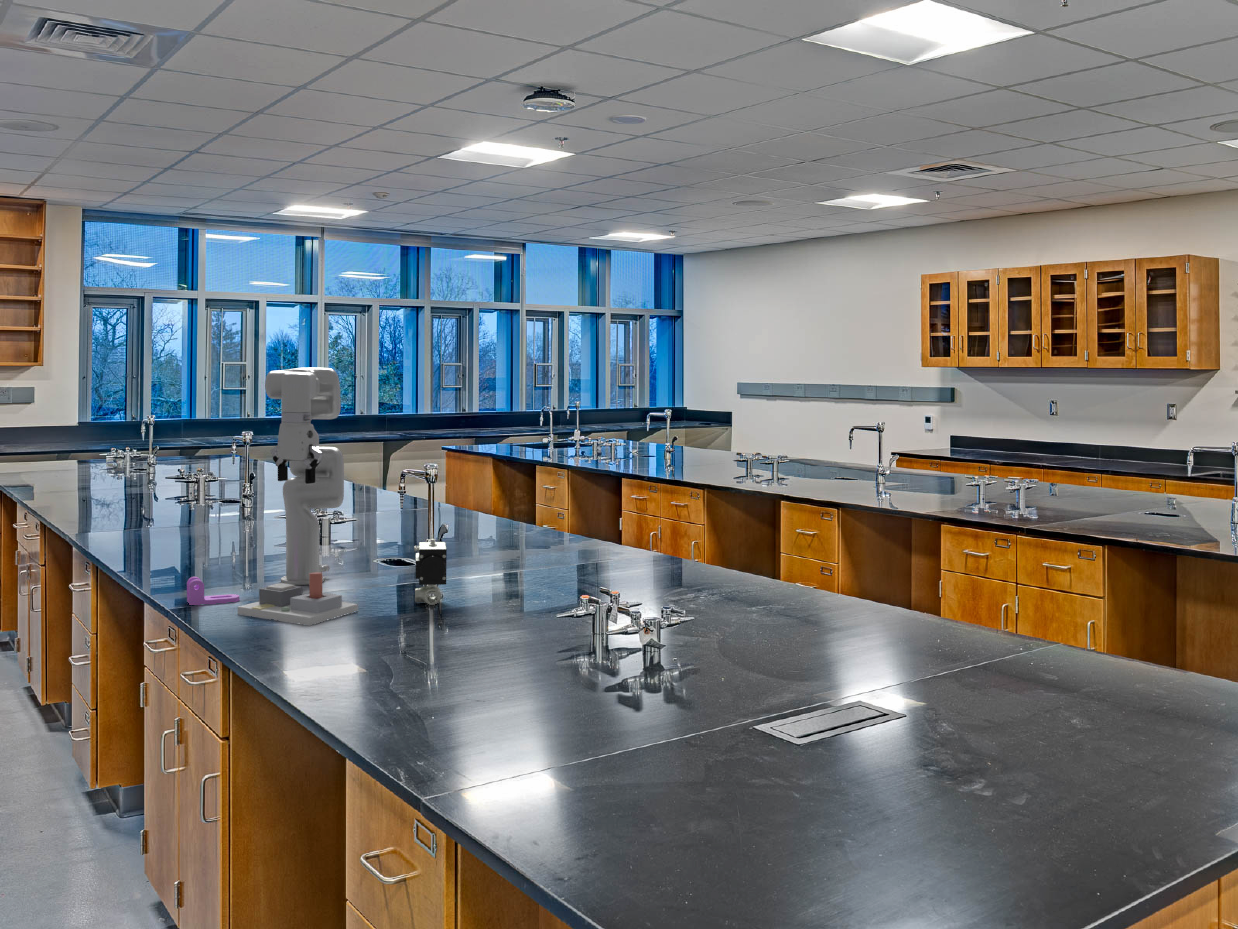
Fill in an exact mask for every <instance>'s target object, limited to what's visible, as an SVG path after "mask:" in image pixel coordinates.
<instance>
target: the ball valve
mask: <svg viewBox="0 0 1238 929" xmlns="http://www.w3.org/2000/svg"><path fill="white" fill-rule="evenodd" d="M435 540H436V539H434V538H430V541H419V544H418V545H414V546H413V547H414V550H413V551H414V552H415V580H418V585H419V586H420V587H419V588H414V601H415V603H420V602H425V603H428V604H429V605H428V604H427V605H428V606H430V605H434V606H436V605H435V604H437V603H438V604H439V603H440V602H441V600H442V599H441V598H442V596H441V595H442V592H441V588H440V587H439V586H441V585H442V586H443V585H445V586H446V585H447V559H448V558H447V556H448V555H447V544H446V541H435ZM438 604H437V605H438Z"/></svg>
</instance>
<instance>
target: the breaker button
mask: <svg viewBox="0 0 1238 929" xmlns="http://www.w3.org/2000/svg"><path fill="white" fill-rule="evenodd" d="M295 586H296V585H292V584H284V583H282V582H280V583H275V584H270V585H266V587H267V589H272V590H279V591H283V590H287V589H291V588H295Z"/></svg>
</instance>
